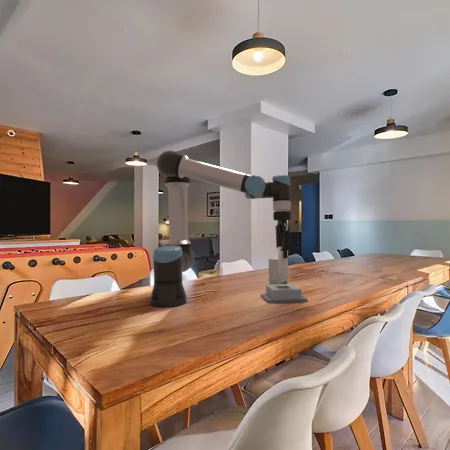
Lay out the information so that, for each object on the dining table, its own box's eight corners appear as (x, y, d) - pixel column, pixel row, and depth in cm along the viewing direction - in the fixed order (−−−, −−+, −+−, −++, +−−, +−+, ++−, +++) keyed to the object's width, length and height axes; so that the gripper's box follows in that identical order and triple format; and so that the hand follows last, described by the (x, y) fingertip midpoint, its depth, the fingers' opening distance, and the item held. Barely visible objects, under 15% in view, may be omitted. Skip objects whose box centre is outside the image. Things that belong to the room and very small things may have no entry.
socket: (267, 303, 124) (267, 290, 124) (260, 296, 136) (260, 284, 136) (307, 301, 126) (307, 289, 126) (297, 294, 138) (296, 283, 138)
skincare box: (280, 292, 144) (279, 259, 144) (267, 290, 148) (267, 258, 148) (287, 289, 151) (287, 257, 151) (276, 287, 155) (275, 257, 155)
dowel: (280, 275, 129) (279, 247, 129) (277, 274, 133) (277, 246, 133) (289, 275, 129) (288, 247, 129) (286, 273, 133) (285, 246, 133)
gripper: (297, 209, 123) (298, 267, 123) (284, 212, 140) (285, 262, 140) (279, 210, 122) (280, 268, 122) (268, 212, 139) (269, 263, 139)
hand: (283, 265), depth 131 cm, fingers closed on dowel, 4 cm apart
